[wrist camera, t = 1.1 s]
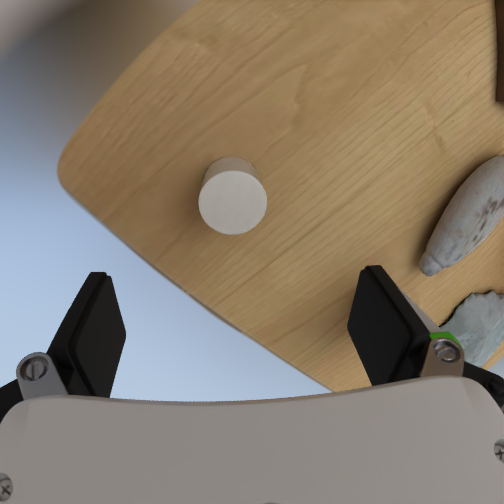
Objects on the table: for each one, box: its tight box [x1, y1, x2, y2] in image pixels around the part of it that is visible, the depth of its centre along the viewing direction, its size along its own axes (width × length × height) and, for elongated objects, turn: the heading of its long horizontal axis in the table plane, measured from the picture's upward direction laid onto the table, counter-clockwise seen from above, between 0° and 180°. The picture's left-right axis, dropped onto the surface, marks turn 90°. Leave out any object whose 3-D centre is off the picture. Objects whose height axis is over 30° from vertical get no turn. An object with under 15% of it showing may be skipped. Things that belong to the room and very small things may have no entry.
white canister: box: [198, 157, 267, 235], centre depth 21 cm, size 4×4×4 cm
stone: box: [439, 290, 504, 368], centre depth 33 cm, size 16×4×15 cm
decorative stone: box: [419, 155, 504, 276], centre depth 23 cm, size 6×16×3 cm, turn 145°
